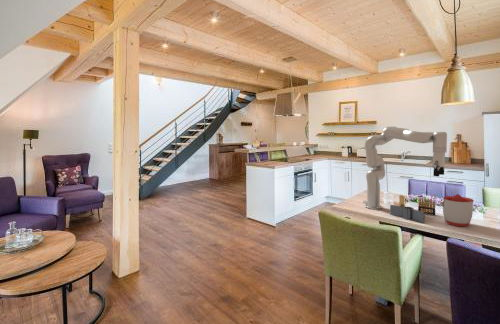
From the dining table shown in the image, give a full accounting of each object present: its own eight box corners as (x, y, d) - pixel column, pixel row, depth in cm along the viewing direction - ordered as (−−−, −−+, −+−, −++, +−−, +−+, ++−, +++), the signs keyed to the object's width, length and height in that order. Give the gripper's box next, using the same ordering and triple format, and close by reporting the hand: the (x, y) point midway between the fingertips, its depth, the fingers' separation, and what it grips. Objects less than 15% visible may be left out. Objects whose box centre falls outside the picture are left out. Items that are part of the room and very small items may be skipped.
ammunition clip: (417, 212, 195) (418, 197, 193) (418, 212, 196) (418, 196, 195) (434, 215, 187) (435, 199, 186) (435, 214, 188) (435, 198, 187)
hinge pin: (398, 213, 194) (398, 195, 192) (400, 213, 195) (400, 195, 194) (403, 214, 191) (403, 196, 190) (404, 213, 193) (405, 195, 192)
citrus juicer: (439, 218, 181) (440, 190, 179) (472, 222, 170) (473, 193, 168) (438, 224, 169) (438, 194, 167) (473, 229, 158) (474, 198, 156)
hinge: (387, 215, 190) (387, 205, 190) (392, 213, 195) (392, 203, 194) (423, 223, 172) (424, 212, 171) (428, 220, 176) (428, 210, 176)
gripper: (437, 149, 181) (436, 173, 183) (428, 151, 171) (427, 176, 172) (450, 149, 175) (449, 174, 177) (442, 151, 165) (441, 177, 166)
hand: (438, 175), depth 175 cm, fingers open, 9 cm apart
